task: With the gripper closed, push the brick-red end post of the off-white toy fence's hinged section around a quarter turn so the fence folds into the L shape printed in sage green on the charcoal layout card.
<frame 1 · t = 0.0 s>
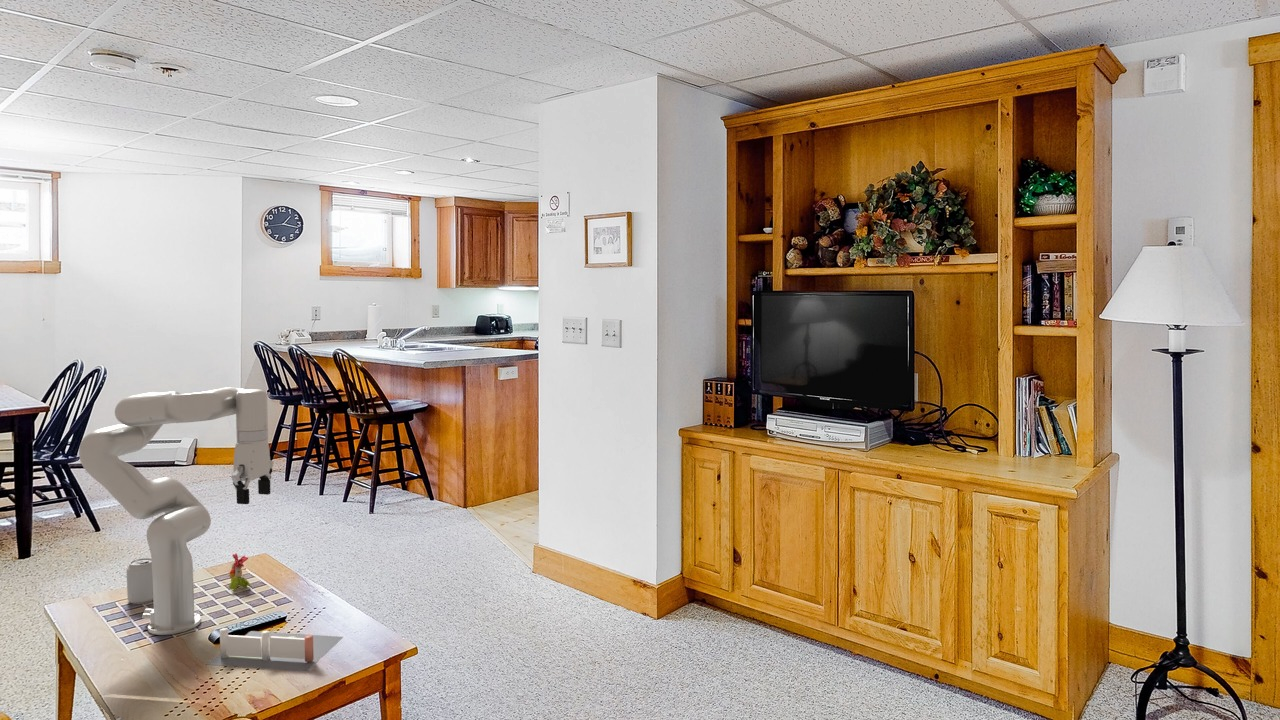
hand: (254, 498, 209), 37 cm above the table, tool pointing down, fingers open, 9 cm apart
can: (142, 600, 231), on the table
layout card: (277, 652, 200), on the table
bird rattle: (236, 588, 242), on the table
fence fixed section: (266, 659, 195), resting on layout card
fence swing section: (291, 647, 194), point 4 cm above the table, hinge at 0.0°
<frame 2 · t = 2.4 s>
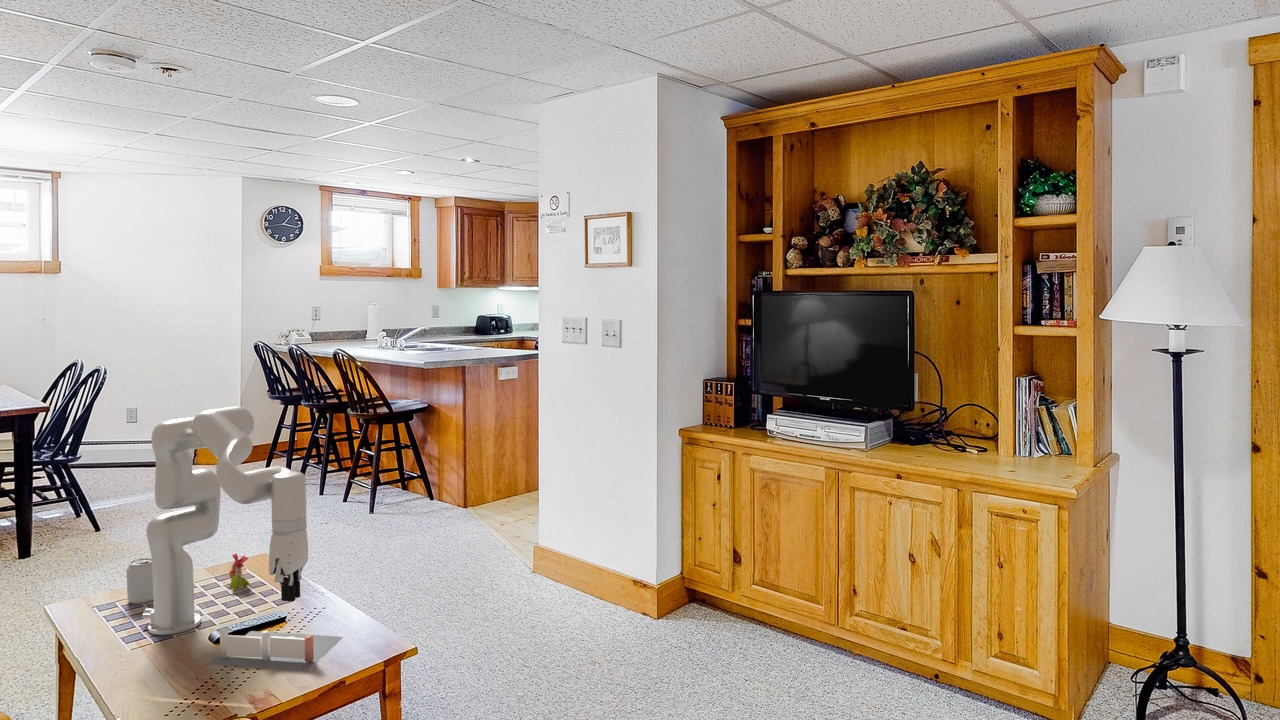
hand: (290, 598, 187), 19 cm above the table, tool pointing down, fingers closed
nothing on the table moved.
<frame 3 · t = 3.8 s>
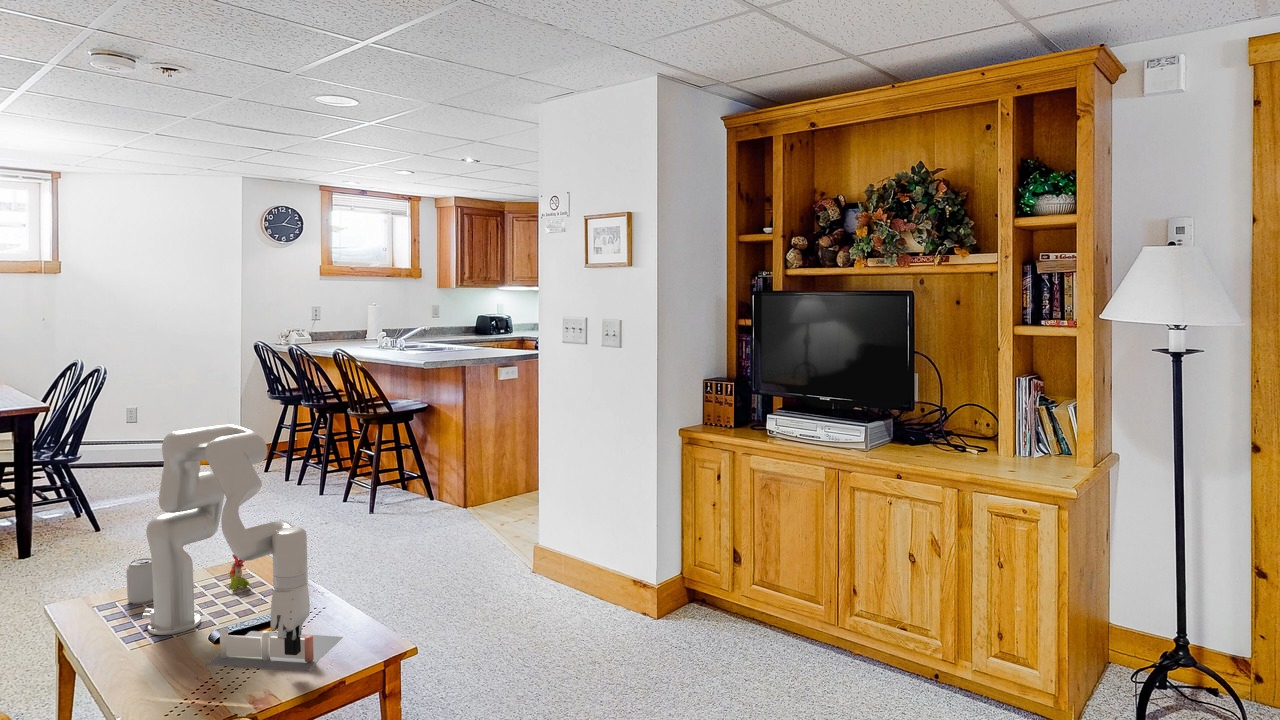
hand: (292, 653, 188), 5 cm above the table, tool pointing down, fingers closed
nothing on the table moved.
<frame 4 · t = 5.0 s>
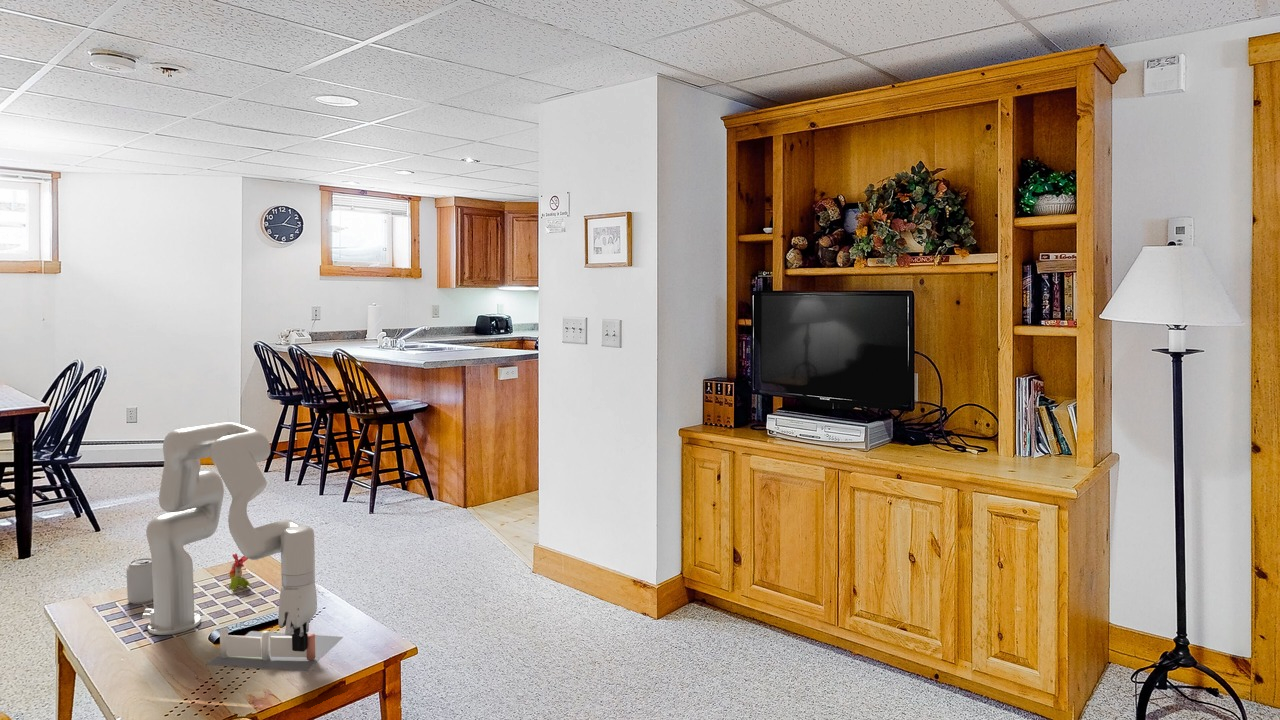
hand: (300, 649, 192), 5 cm above the table, tool pointing down, fingers closed
fence swing section: (292, 646, 195), point 4 cm above the table, hinge at 4.8°, touching gripper
everything else where it was.
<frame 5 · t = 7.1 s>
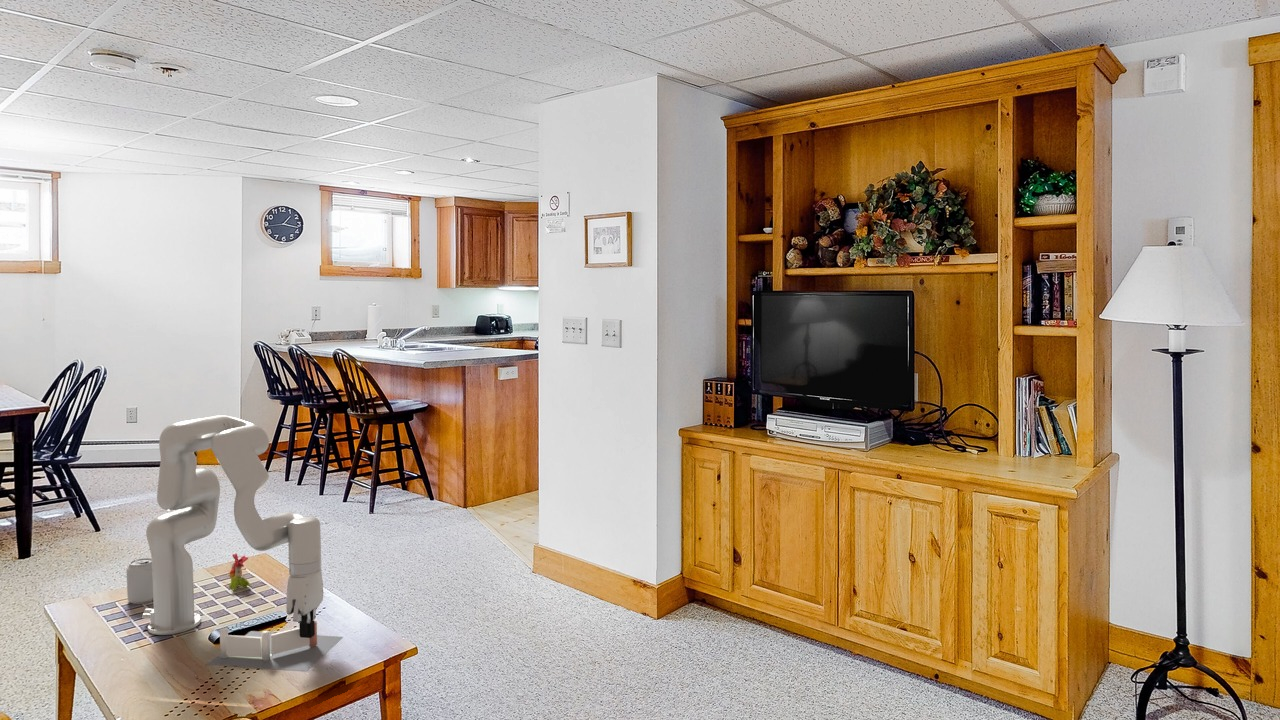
hand: (307, 636, 199), 5 cm above the table, tool pointing down, fingers closed
fence swing section: (294, 638, 199), point 4 cm above the table, hinge at 44.9°, touching gripper
everything else where it was.
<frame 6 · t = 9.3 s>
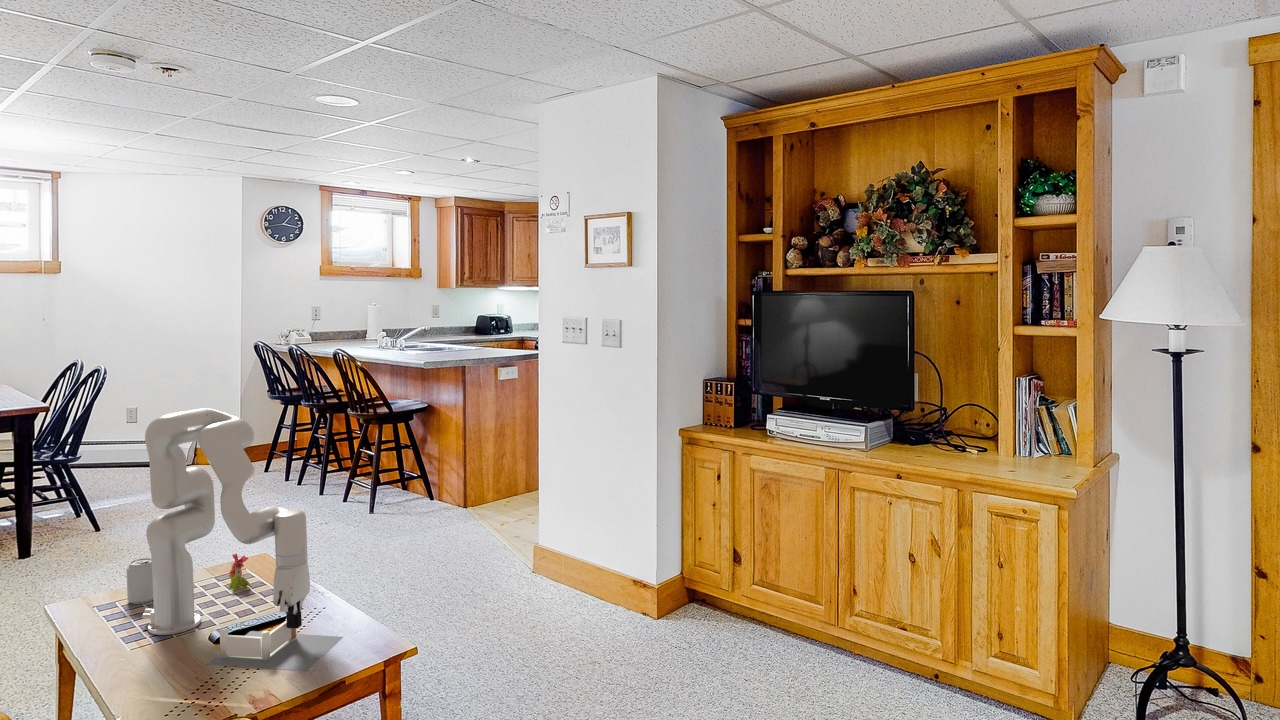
hand: (294, 626, 204), 5 cm above the table, tool pointing down, fingers closed
fence swing section: (281, 633, 202), point 4 cm above the table, hinge at 87.5°, touching gripper
everything else where it was.
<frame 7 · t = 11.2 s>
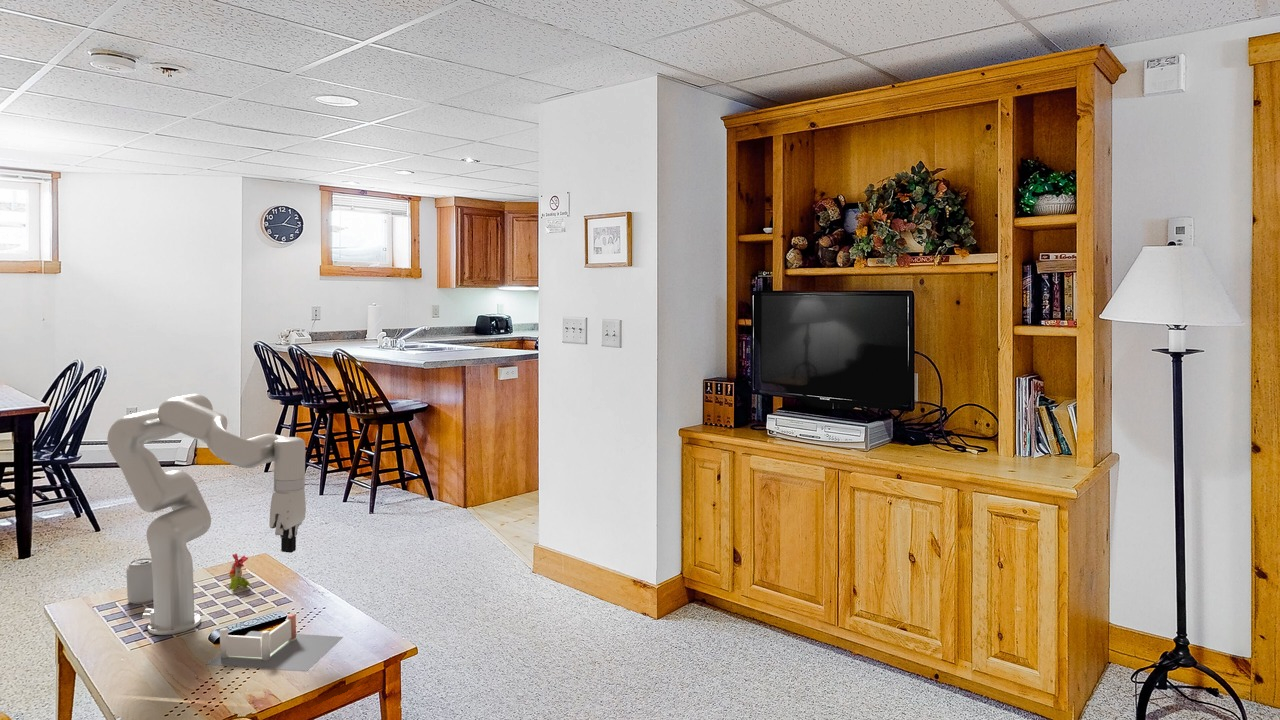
hand: (288, 551, 208), 23 cm above the table, tool pointing down, fingers closed
fence swing section: (281, 633, 202), point 4 cm above the table, hinge at 87.7°
everything else where it was.
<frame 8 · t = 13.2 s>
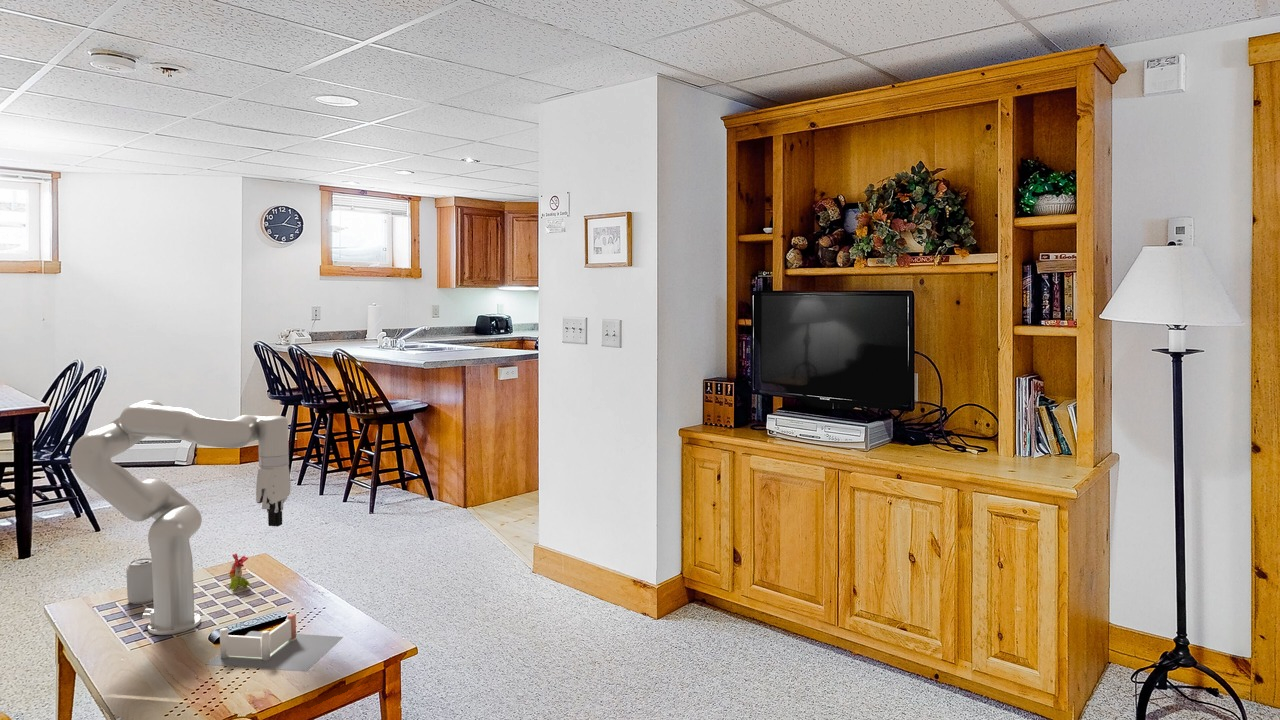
hand: (275, 525, 218), 27 cm above the table, tool pointing down, fingers closed
nothing on the table moved.
at the end: fence swing section at +88° (first picture: +0°); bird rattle moved 0.3 cm from its start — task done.
